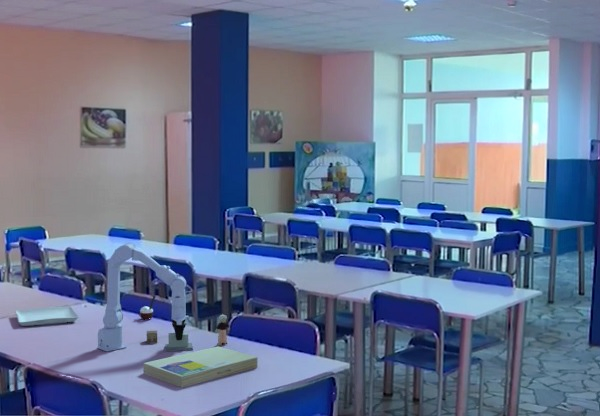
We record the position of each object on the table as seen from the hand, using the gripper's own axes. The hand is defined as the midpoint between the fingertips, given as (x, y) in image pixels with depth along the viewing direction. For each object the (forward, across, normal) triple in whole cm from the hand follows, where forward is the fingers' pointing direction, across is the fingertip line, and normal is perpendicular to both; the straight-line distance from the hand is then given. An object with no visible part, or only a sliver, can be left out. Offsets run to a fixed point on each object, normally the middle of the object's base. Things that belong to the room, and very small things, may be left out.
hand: (178, 338), depth 310 cm
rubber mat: (+4, 0, 0) cm, 4 cm away
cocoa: (+4, +58, +14) cm, 60 cm away
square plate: (+5, +65, +62) cm, 89 cm away
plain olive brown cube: (+4, +13, +11) cm, 17 cm away
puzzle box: (+5, -34, -7) cm, 35 cm away
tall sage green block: (+3, 0, 0) cm, 3 cm away
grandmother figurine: (+4, +4, -19) cm, 20 cm away
